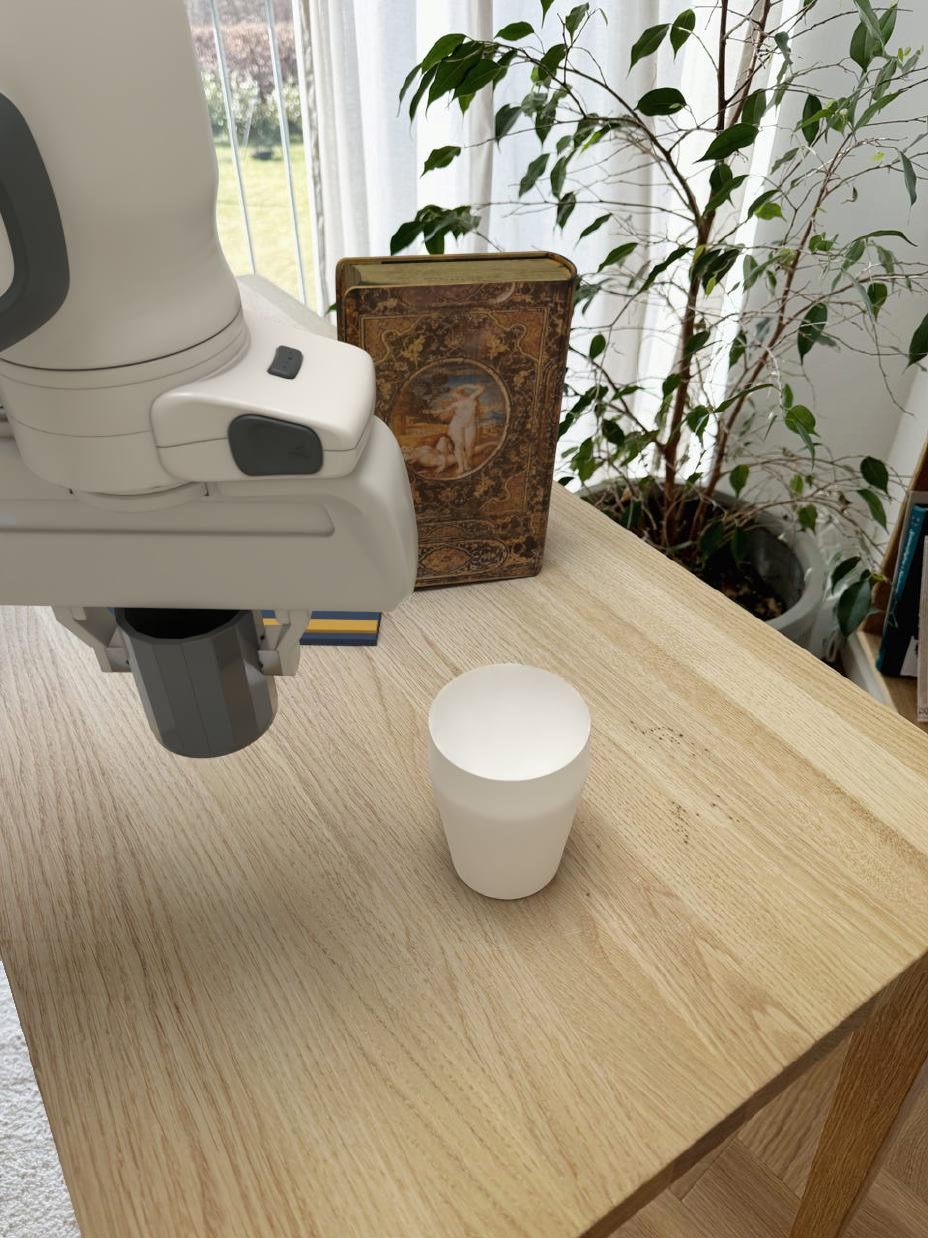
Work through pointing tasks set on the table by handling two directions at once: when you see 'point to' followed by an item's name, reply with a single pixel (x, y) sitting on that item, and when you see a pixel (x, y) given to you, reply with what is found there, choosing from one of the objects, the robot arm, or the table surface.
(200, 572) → the robot arm
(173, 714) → the grey tumbler
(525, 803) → the cup
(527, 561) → the book
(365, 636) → the towel
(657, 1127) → the table surface
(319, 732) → the table surface
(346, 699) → the table surface
